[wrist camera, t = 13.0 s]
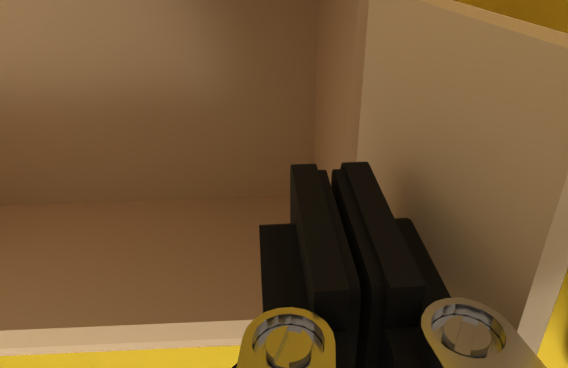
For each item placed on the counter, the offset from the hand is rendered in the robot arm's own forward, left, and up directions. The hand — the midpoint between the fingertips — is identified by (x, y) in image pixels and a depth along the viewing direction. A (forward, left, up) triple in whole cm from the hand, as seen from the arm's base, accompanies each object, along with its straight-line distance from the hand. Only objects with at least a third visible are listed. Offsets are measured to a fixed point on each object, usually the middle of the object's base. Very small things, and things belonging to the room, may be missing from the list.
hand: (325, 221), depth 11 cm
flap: (-1, 0, -2) cm, 3 cm away
